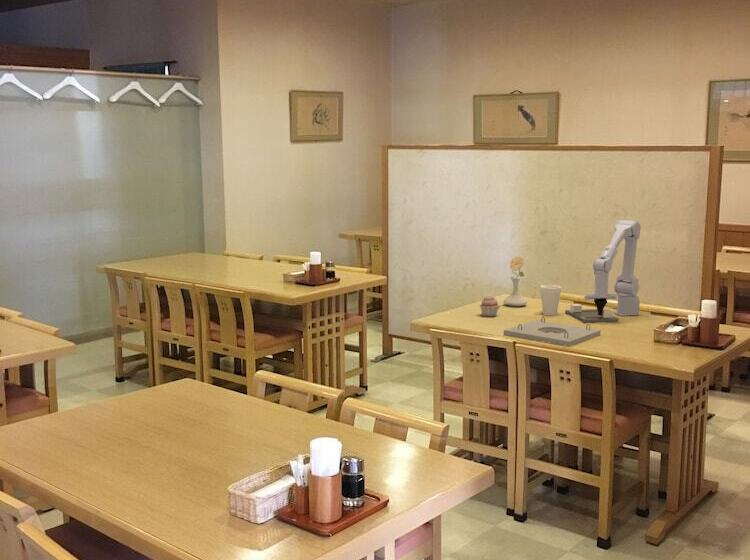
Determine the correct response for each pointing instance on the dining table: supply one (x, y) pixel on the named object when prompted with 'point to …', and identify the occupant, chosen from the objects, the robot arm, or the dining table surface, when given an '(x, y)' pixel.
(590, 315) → the plate
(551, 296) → the foam cup
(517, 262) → the flower in vase
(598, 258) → the robot arm
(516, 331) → the mounting panel
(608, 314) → the handle
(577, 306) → the handle
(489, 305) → the cupcake
